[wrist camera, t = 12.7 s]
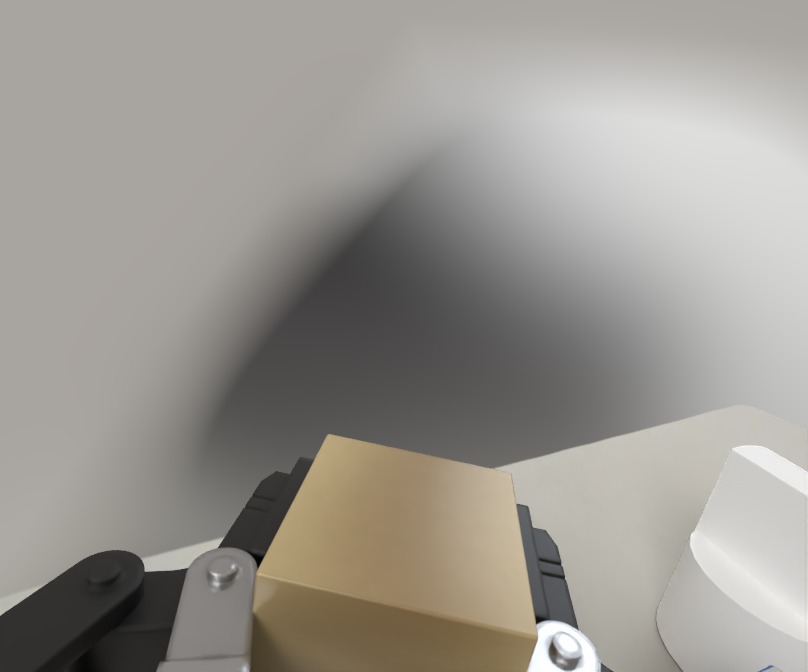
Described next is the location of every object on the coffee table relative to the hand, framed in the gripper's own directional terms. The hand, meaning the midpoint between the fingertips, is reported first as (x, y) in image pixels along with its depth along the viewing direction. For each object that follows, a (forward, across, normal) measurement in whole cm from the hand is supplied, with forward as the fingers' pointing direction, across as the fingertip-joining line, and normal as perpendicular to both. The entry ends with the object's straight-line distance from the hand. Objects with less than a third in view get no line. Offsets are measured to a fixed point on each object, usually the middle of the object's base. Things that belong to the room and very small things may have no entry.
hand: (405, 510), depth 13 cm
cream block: (-3, 0, +8) cm, 8 cm away
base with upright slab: (+14, -22, +16) cm, 31 cm away
